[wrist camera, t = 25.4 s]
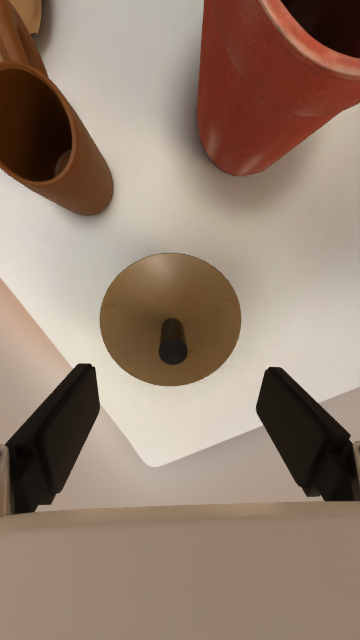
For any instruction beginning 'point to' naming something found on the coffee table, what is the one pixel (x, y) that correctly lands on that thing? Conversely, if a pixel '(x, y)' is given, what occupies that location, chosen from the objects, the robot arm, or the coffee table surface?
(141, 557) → the robot arm
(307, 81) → the flower pot
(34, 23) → the container
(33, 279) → the coffee table surface
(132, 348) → the tin lid
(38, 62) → the mug
